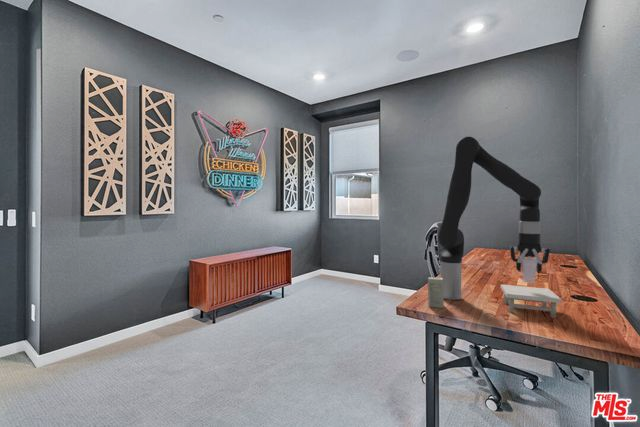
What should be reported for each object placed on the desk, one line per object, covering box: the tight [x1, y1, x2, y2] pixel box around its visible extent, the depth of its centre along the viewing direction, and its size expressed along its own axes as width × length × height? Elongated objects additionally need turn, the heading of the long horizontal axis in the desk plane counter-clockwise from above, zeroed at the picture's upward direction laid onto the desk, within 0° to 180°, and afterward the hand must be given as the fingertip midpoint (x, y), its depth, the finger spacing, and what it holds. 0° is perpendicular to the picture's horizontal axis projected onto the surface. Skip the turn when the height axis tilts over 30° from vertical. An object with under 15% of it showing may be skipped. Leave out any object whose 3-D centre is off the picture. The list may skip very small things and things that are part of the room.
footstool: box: [500, 284, 562, 319], centre depth 127 cm, size 18×16×8 cm
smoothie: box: [520, 256, 538, 284], centre depth 127 cm, size 6×6×14 cm
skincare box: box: [427, 276, 445, 309], centre depth 132 cm, size 6×4×12 cm
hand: (528, 271), depth 127 cm, fingers closed on smoothie, 6 cm apart
